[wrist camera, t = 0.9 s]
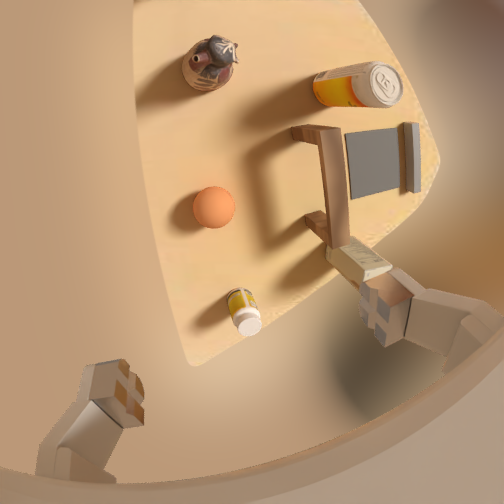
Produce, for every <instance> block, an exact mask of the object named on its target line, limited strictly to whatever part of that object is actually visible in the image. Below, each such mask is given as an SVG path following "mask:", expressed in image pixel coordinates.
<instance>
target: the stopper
mask: <svg viewBox="0 0 504 504" xmlns="http://www.w3.org/2000/svg"><path fill="white" fill-rule="evenodd" d="M403 126H404V138H405V156H406V190H408V191H410V192H412V193H417V192H421V154H420V133H419V123H414V122H403Z"/></svg>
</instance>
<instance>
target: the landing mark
mask: <svg viewBox="0 0 504 504" xmlns="http://www.w3.org/2000/svg"><path fill="white" fill-rule="evenodd" d="M345 137H346V145H347V154H348V163H349V174H350V186H351V199H356V198H360V197H364V196H367V195H371V194H375V193H379V192H383V191H387V190H391V189H395V188H399V187H400V165H399V145H398V132H397V128H390V129H380V130H371V131H362V132H355V133H347V134H345Z"/></svg>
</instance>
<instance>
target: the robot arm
mask: <svg viewBox="0 0 504 504" xmlns="http://www.w3.org/2000/svg"><path fill="white" fill-rule="evenodd" d="M359 293H360V294H361V295H362V296H363V297H362V299H361V300H360V302H359V312H360V315H361V318H362V320H363V322H364V323H365V324H366V326H367V327H369V328H372V329H375V334H374V335H375V336H376V338H377V339H378V340H379V341H380V342H381V344H382V345H383V346H384V347H386V346H388V345H391V344H393V343H394V342H397V341H398V340H400V339H402V338H405V339H406V340H408V341H411V342H413V343H415V344H418V345H420V346H422V347H425V348H427V349H429V350H432V351H434V352H436V353H439V354H441V355H443V356H446V357H447V358H446V360H445V363H444V365H443V368H442V372H443V373H444V374H445V376H443V377H442V378H441V379H439V380H438V381H436V382H435V383H434V384H432V385H431V386H429V387H428V388H426V389H425V390H423V391H422V392H420V393H419V394H417V395H415V396H414V397H412V398H411V399H409V400H408V401H406V402H404V403H403V404H401V405H399V406H398V407H396V408H394V409H392V410H391V411H389V412H387V413H385V414H384V415H382V416H380V417H378V418H376V419H374V420H373V421H370V422H368V423H367V424H364V425H362V426H360V427H358V428H356V429H354V430H352V431H350V432H348V433H346V434H344V435H341V436H339V437H337V438H334V439H332V440H330V441H327V442H325V443H322V444H320V445H318V446H315V447H312V448H309V449H307V450H304V451H301V452H298V453H295V454H293V455H290V456H287V457H283V458H281V459H277V460H274V461H271V462H267V463H264V464H261V465H256V466H252V467H249V468H244V469H241V470H236V471H231V472H227V473H222V474H217V475H211V476H205V477H199V478H192V479H185V480H176V481H167V482H154V483H133V484H131V483H130V484H116V478H115V477H114V476H113V475H112V474H110V473H108V472H106V471H105V470H104V467H105V466H106V463H107V461H108V460H109V458H110V456H111V454H112V451H113V450H114V448H115V446H116V444H117V442H118V440H119V438H120V436H121V434H122V432H123V429H124V428H131V427H138V426H143V425H144V409H143V408H142V406H141V403H142V402H143V400H144V389H143V385H142V382H141V380H140V378H139V377H138V376H137V374H135V373H133V372H131V371H129V368H130V366H129V364H128V363H127V362H126V361H125V360H124V359H117V360H113V361H107V362H102V363H97V364H92V365H87V366H86V367H85V368H84V370H83V374H82V378H81V382H80V386H79V391H78V395H77V400H76V402H73V403H72V404H71V405H70V407H69V408H68V409H67V410H66V412H65V413H64V414H63V416H62V417H61V418H60V419H59V421H58V422H57V423H56V424H55V426H54V427H53V428H52V430H51V431H50V432H49V433H48V435H47V436H46V437H45V438H44V440H43V441H42V442H41V444H40V445H39V451H38V457H37V463H36V471H35V475H31V474H27V473H22V472H18V471H14V470H9V469H6V468H3V467H0V504H504V317H503V316H502V315H501V314H500V313H498V312H497V311H496V310H495V309H494V308H493V307H492V306H490V305H489V304H488V303H486V302H485V301H482V300H478V299H474V298H469V297H465V296H461V295H456V294H452V293H448V292H443V291H439V290H435V289H427V290H426V289H425V288H423V287H422V286H421V285H420V284H418V283H417V282H416V281H415V280H413V279H412V278H411V277H410V276H409V275H407V274H406V273H405V272H404V271H402V270H401V269H400V268H396V267H395V268H393V269H391V270H389V271H387V272H385V273H383V274H380V275H378V276H376V277H373V278H371V279H369V280H366V281H364V282H362V283H361V284H360V286H359Z"/></svg>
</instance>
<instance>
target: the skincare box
mask: <svg viewBox="0 0 504 504" xmlns="http://www.w3.org/2000/svg"><path fill="white" fill-rule="evenodd" d="M325 259H326V260H328V261H329V262H330V263H331V264H332V265H333V266H334V267H335V268H336V269H337V270H338V271H339V272H340V273H341V274H342V275H343V276H344V277H345V278H346V279H347V280H348V281H349V282H350V283H351V284H352V285H353V286H354V287H355V289H357V291H358V292H359V286H360V284H361V283H362V282H364V281H366V280H369V279H371V278H373V277H376V276H378V275H380V274H383V273H385V272H387V271H389V270H391V269H392V267H393V266H392V265H391V264H390V263H389V262H387V261H386V260H385V259H384V258H382V257H381V256H380V255H378V254H377V253H376V252H374V251H373V250H372V249H371V248H369V247H368V246H367V245H365V244H364V243H363V242H361V241H360V240H359V239H357V238H356V237H355V236H350V244H349V245H346V246H343V247H340V248H337V249H334V250H332V249H331V248H330V247H329V246H328V245H327V248H326V255H325Z"/></svg>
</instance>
